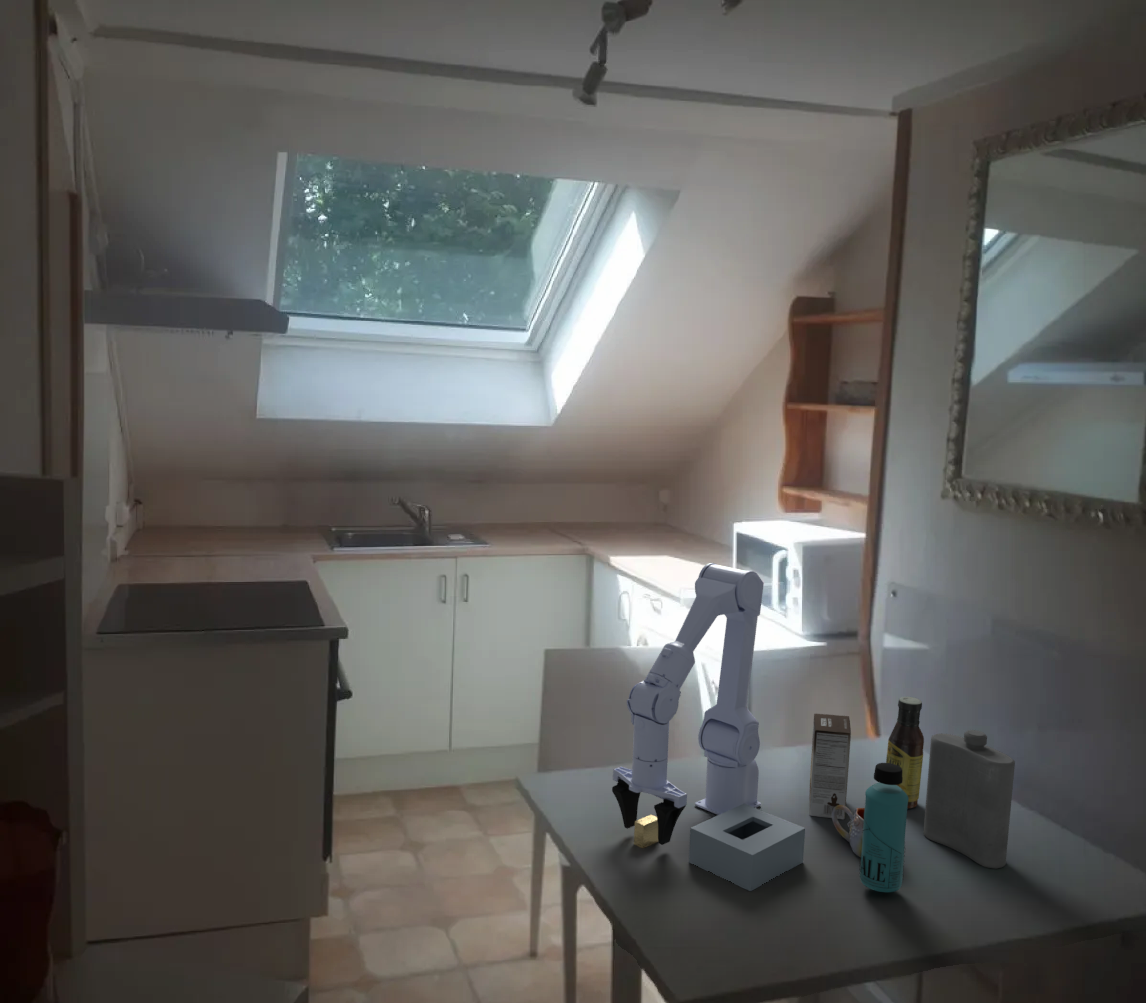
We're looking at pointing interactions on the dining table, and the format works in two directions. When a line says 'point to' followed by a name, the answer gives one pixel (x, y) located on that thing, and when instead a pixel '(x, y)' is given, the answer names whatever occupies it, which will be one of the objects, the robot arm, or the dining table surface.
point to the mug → (851, 827)
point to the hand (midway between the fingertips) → (646, 834)
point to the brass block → (646, 831)
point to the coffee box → (829, 764)
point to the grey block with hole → (746, 846)
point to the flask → (969, 797)
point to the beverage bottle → (884, 830)
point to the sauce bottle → (908, 747)
